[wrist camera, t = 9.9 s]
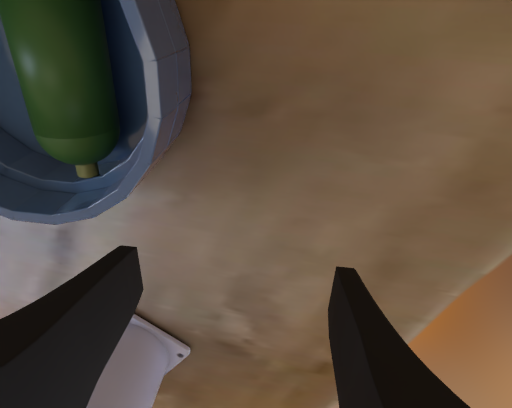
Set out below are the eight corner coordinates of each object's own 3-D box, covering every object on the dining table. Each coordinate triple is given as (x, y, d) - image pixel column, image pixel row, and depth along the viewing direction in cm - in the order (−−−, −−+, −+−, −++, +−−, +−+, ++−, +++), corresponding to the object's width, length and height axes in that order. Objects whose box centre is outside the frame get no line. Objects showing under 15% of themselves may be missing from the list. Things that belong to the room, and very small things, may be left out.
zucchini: (104, 154, 22) (141, 174, 20) (34, 173, 19) (67, 199, 17) (66, -51, 17) (110, -56, 14) (-37, -64, 14) (-3, -71, 12)
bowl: (117, 218, 24) (75, 269, 19) (-97, 75, 20) (-208, 96, 16) (248, 39, 18) (231, 53, 13) (-29, -211, 14) (-182, -309, 10)
